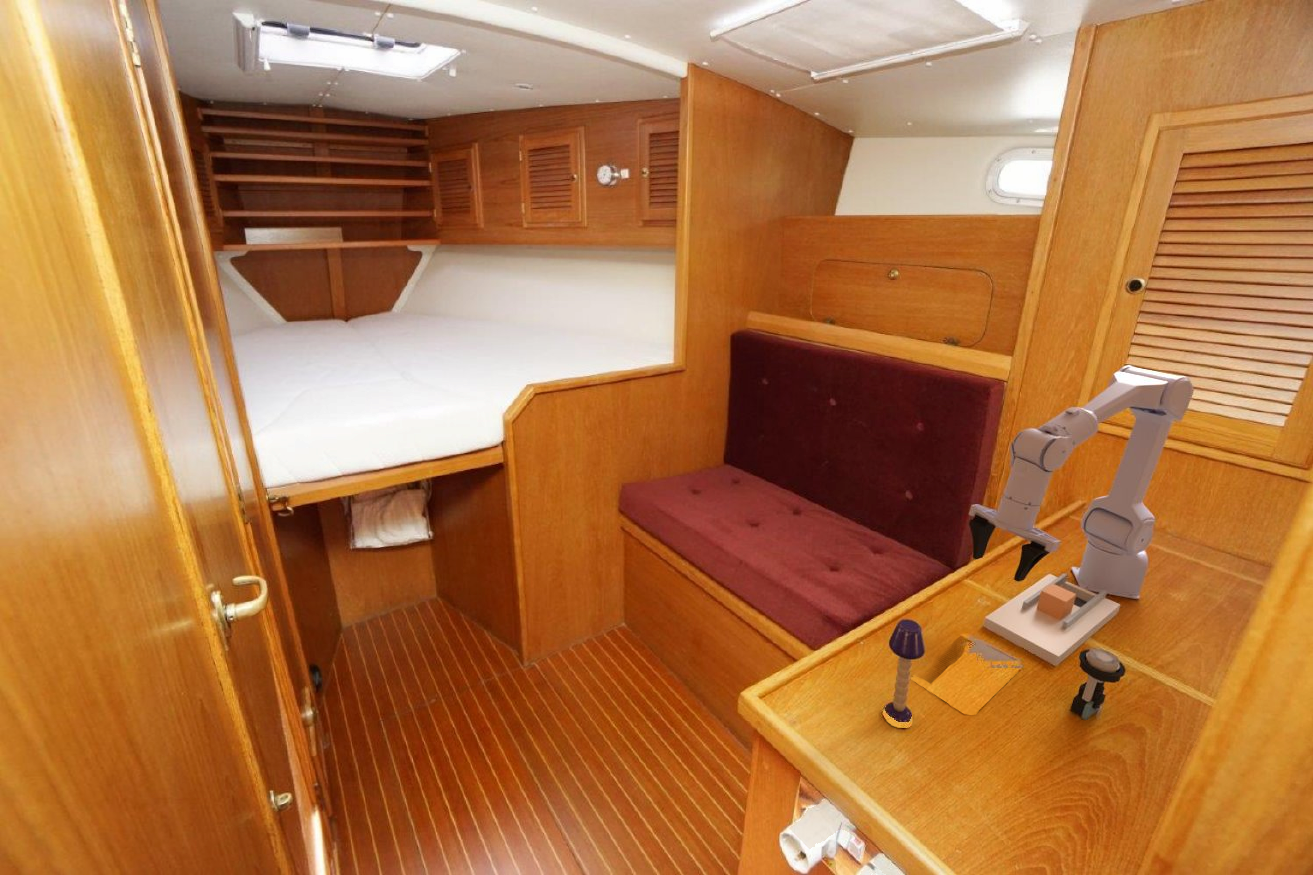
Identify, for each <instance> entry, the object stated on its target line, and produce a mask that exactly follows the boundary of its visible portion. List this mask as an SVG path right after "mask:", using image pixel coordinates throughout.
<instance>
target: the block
mask: <svg viewBox="0 0 1313 875" xmlns="http://www.w3.org/2000/svg"><path fill="white" fill-rule="evenodd" d="M1075 598H1076V594H1075V593H1073V592H1071V591H1068V590H1066V589H1064V588H1062V587H1059V586H1057V585H1055V584H1053V583H1052V584H1050V585H1049V586H1047V587H1046V588H1044V589H1043V590H1042V591H1041V594H1040V598H1039V602H1038V605H1037V610H1040V611H1042V612H1044V613H1046V614H1048V615H1050V616H1052V617H1054V618H1056V619H1058V620H1060V621H1061V620H1062V619H1064V618H1065V617H1066V616H1067V615H1069V614H1070V613H1071V611H1072V608H1073V605H1074V601H1075Z"/></svg>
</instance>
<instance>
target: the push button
mask: <svg viewBox="0 0 1313 875" xmlns="http://www.w3.org/2000/svg"><path fill="white" fill-rule="evenodd" d="M1078 659H1079V661H1080V662H1079V667H1080V669H1081V670H1082V672H1084V673H1085V674H1087V676H1088V677H1087V680H1086V681H1085V682H1084V683H1082V684H1080V686H1079V689H1078V694H1076V695H1075V696H1074V697H1073V699H1072V701H1071V705H1070V709H1069V710H1070V712H1072V713H1074V714H1075V715H1076V716H1078V717H1080V718H1081V719H1083V720H1085V721H1086V720H1088V719H1089V718H1090V717H1092V715H1093V714H1096V715H1095V717H1096V718H1099V716H1100V715H1101V713H1102V709H1103V706H1102V705H1103V704H1104V703H1105V702H1104V701H1105V699H1106V697H1107V696H1106V694H1105V692H1104V691H1105V689H1106V688H1105V686H1104V685H1105V683H1112V684H1116V683H1118V682H1120V681H1121V678H1122V677H1124V676H1125V673H1126V667H1125V666H1124V664H1123V663H1122V662H1121V661H1120V660H1119V659H1120V658H1118V657H1117V656H1116V655H1115V654H1113V653H1112V652H1111V651H1108V650H1105V649H1103V648H1097V647H1094V648H1090V649H1083V650H1082V651H1080V652H1079V655H1078Z"/></svg>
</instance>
